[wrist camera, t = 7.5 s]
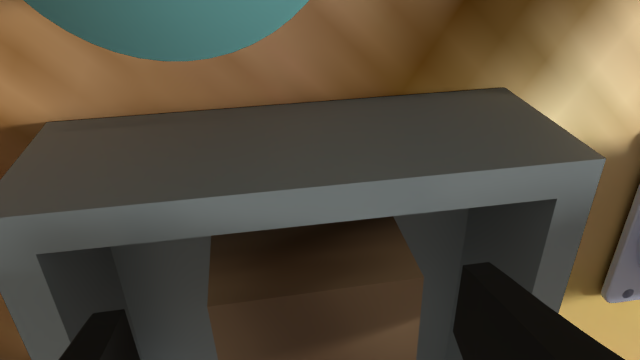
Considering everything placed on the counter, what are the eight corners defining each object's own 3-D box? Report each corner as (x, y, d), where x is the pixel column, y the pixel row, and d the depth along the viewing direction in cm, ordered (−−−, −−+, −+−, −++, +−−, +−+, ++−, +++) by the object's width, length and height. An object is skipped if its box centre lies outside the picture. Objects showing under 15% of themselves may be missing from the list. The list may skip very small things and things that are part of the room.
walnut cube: (371, 173, 16) (423, 277, 12) (369, 290, 18) (411, 410, 14) (213, 191, 15) (207, 307, 11) (233, 309, 18) (234, 440, 13)
